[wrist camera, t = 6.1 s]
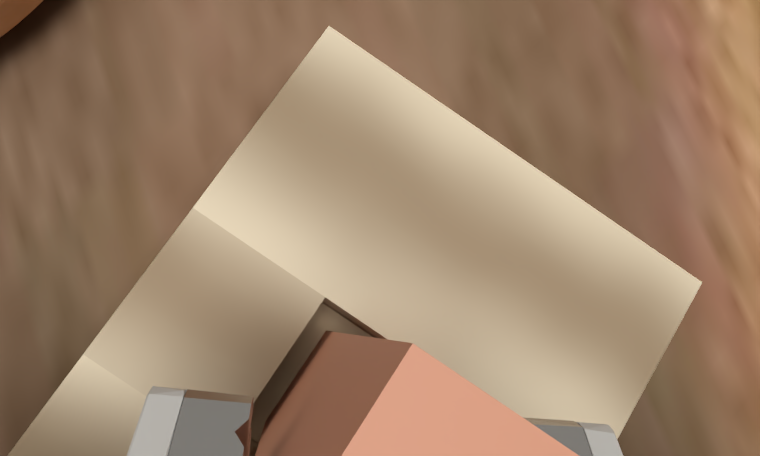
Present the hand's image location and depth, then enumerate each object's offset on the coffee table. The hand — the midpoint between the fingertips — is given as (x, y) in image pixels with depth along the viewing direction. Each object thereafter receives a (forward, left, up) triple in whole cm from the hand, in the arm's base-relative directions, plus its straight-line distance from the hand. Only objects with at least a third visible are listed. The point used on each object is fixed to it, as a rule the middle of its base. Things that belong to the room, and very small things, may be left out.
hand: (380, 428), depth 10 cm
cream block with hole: (-1, 0, -11) cm, 11 cm away
